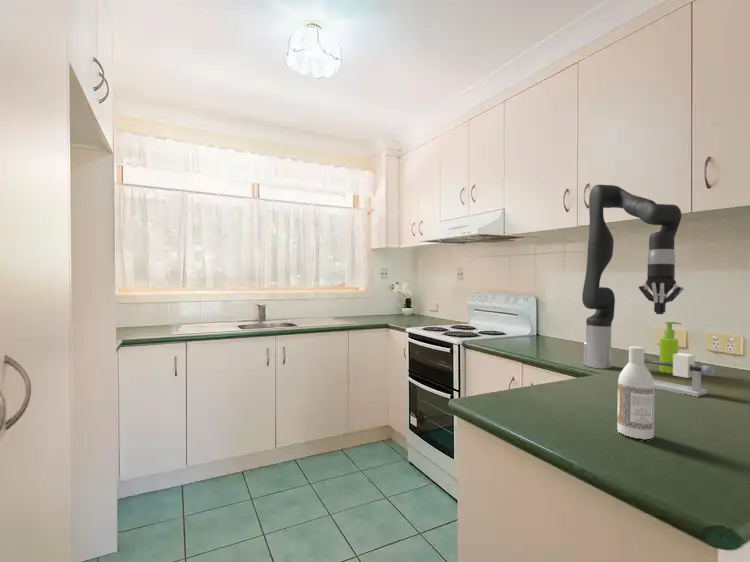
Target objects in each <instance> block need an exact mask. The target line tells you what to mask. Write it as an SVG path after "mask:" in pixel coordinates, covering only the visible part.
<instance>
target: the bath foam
mask: <svg viewBox="0 0 750 562" xmlns="http://www.w3.org/2000/svg"><path fill="white" fill-rule="evenodd" d="M644 359H645V348H644V347H642V346H635V345H633V346H632V345H631V346H629V347H628V363H626V365H625V366H624V367H623V369H622V370H621V372H620V373H619V375H618V380H617V414H616V415H617V418H616V419H617V425H616V426H617V427H616V429H617V430H618V431H617V433H619V432H620V433H622V434H624V435H626V436H630V437H634V438H641V439H651V438H653V439H654V436H655V390H656V389H655V386H654V380H655V379H654V377H653V375H652V373H651V372H650V370H649V369H648V367H647V366H646V365H645V362H644ZM651 440H652V439H651Z"/></svg>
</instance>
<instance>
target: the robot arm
mask: <svg viewBox="0 0 750 562" xmlns="http://www.w3.org/2000/svg"><path fill="white" fill-rule="evenodd" d="M588 206H589V208H588V209H589V225H588V226H589V228H588V229H589V231H588V240H587V243H588V244H587V259H586V267H585V268H586V270H585V278H584V282H583V288H582V294H581V295H582V298H581V299H582V304H583V306H584V307H585V308H586V309H589V310H595V313H593V315H591V316H588V317H587V318H586V321H585V322H586V325H585V327H586V328H585V331H586V332H585V334H586V335H585V342H584V343H583V361H582V362H583V363H582V364H583V366H586V367H589V368H594V369H604V370H605V369H611V367H612V365H611V364H612V322H613V320H614V317H615V316H614V315H615V304H616V298H615V297H616V295H615V293H614V291H613V289H611V288H609V287H607V286H606V287H603V286H600V282H601V277H602V275H603V273H604V271H605V270H606V268H607V266H608V265H609V263H610V262H611V260H612V258H613V253H614V242H615V241H614V236H613V235H612V232H611V231H610V228H609V227H608V225H607V223H606V221H605V217H604V209H613V208H614V209H615V208H616V209H623V210H624V212H625V213H627V214H628V215H631V216H633V217H635V218H638V219H640V221H642V222H643V223H645V224H647V225H652V226H661V228H660V230H659V231H656V232H652V233H650V235H649V240H648V255H647V272H646V273H647V276H646V277H647V278H646V281H645V283H644V284H643V285H640V286H638V289H639V290H640V292H641V293H642V294H643V295H644V297H645V298H646V299H647V300H648V301H649V302H653V307H654V308H653V311H654V313H655V315H664V313H665V312H666V311H667V310H666V304H667V303H669V302H673V301H674V300H675V299H676V298H677V296H679V295H680V294H681V293H682V292H683V291H684V287H682V286H680V285H678V284H677V281H676V279H675V271H676V270H675V267H676V265H675V264H676V254H675V239H676V234H677V232H678V228H679V226H680V223H681V219H682V210H681V208H680V207H679V206H678V205H677V204H671V203H670V204H669V203H667V204H666V203H665V204H664V203H656V201H654V200H652V199H649V198H645V197H642V196H638V195H635V194H632V193H631V192H628V191H626V190H625V189H624V188H622V187H620V186H618V185H613V184H595V185H594V186H593V187H592V188H591V190H590V192H589V198H588ZM649 289H650V290H649ZM671 290H672V292H671ZM650 291H651V292H650ZM669 293H670V294H669Z"/></svg>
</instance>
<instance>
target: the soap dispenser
mask: <svg viewBox="0 0 750 562" xmlns="http://www.w3.org/2000/svg"><path fill="white" fill-rule="evenodd" d="M664 324H666V329H664V330H663V337H661V338H659V361H661V362H667V363H673V354H677V353H679V339H676V338H675V330H674V329H673V325H682V323H681V322H675V321H664ZM660 371H661V373H664V372H666V373H665V374H671V373H673V367H670V366H663V365H659V372H660Z"/></svg>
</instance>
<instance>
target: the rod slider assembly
mask: <svg viewBox="0 0 750 562" xmlns="http://www.w3.org/2000/svg"><path fill="white" fill-rule="evenodd" d="M645 363H646V364H653V365H656V366H657V365H658V366H660V365H663V366H670V367H673V363H667V362H661V361H660V360H653V359H647V358H644V364H645ZM690 370H693V371H692V377H691V379H692V380H691V386H690V385H683V384H679V383H678V384H677V383H673V382H667V381H663V380H657V379H653V380H654V386H655V388H656V389H655V390H660V389H661V390H662V391H665V390H666V392H670V393H676V394H680V393H681V394H680V395H684V394H687V395H686V396H689V395H692V396H691V397H694V396H696V397H695V398H699V397H702V396H704V395H707V394H708V389H705V388H702V387H701V386H702V376H703V375H704V376H709V377H713V376H714V374H715V368H714V366H712V365H704V364H702V365H701V366H700V367H699V366H695V367H693V366H690ZM661 390H660V391H661ZM701 395H702V396H701ZM698 396H699V397H698Z"/></svg>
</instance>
